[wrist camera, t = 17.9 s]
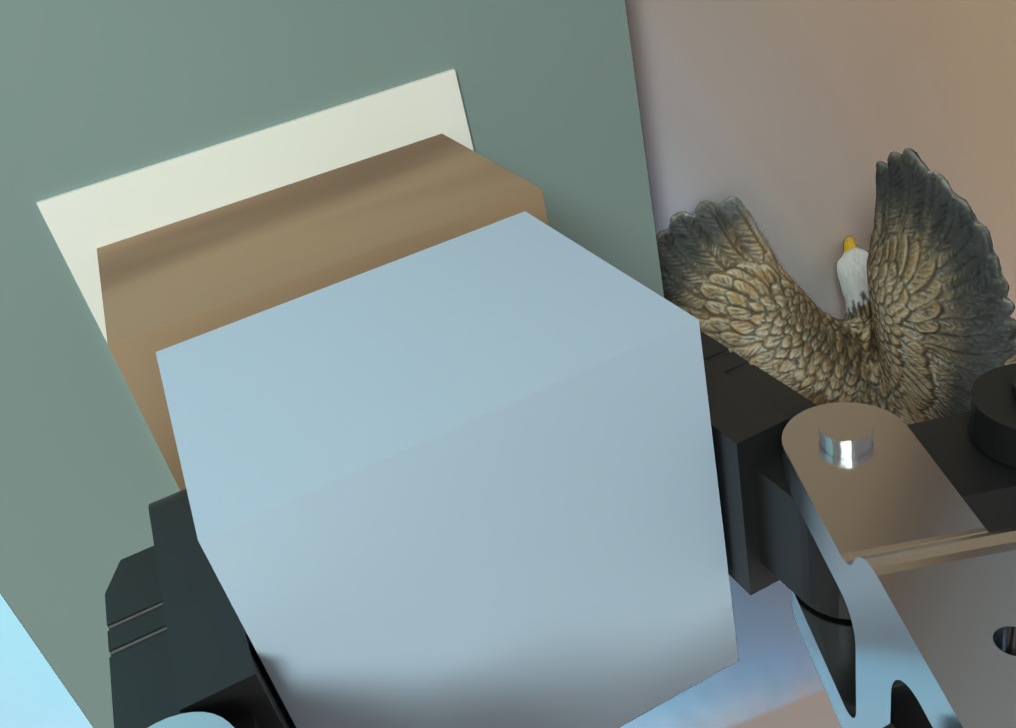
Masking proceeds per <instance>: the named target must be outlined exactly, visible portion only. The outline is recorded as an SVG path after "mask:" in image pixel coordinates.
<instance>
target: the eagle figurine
mask: <svg viewBox="0 0 1016 728" xmlns="http://www.w3.org/2000/svg"><path fill="white" fill-rule="evenodd" d="M876 168H877V169H876V206H875V218H874V229H873V232H872V235H871V240H870V251H869V254H868V253H867V251H865V250H863V249H859V247H858V246H857V245H856V243H855V239H854V237H852V236H850V237H847V238H846V239H845V240H844V251H843V255H842V257H841V258H840V259H839V260H838V263H837V275H838V279H839V282H840V286H841V291H842V294H843V296H844V299H845V306H846V315H845V320H839V319H836V318H833V317H832V316H830V315H829V314H827V313H825V312H824V311H822V310H821V309H820V308H818V307H817V306H816V305H815V303H814V302H813V301H812V300H811V299H810V298H809V297H808V296H807V295H806V294H805V293H804V292H803V290H802V289H801V288H800V287H799V286H798V284H797V283H796V282H795V281H794V280H793V279H792V278H791V277H790V276H789V275H788V274H787V273H786V272H785V271H784V270H783V269H782V267H781V266H780V264H779V263H778V261H777V260H776V258H775V256H774V254H773V252H772V251H771V249H770V247H769V246H768V243H767V241H766V239H765V238H764V236H763V234H762V233H761V232H760V231H759V229H758V227H757V225H756V223H755V221H754V219H753V217H752V216H751V214H750V213H749V211H748V210H747V209H746V208H745V207H744V206H743V204H742V203H741V201H740V200H739V199H738V198H736V197H728V198H727V199H726V200H725V201H724V202H723V203H722V204H716V203H712V202H710V201H703V202H701V203H700V204H699V205H698V207H697V208H696V210H695V212H694V214H690V213H687V212H679V213H676V214H675V215H673V216H672V217H671V219H670V224H669V228H668V229H667V230H663V231H661V232H659V233H658V234H657V236H656V240H657V248H658V255H659V263H660V270H661V278H662V285H663V293H664V298H665V299H666V300H668V301H670V302H671V303H673V304H674V305H676V306H678V307H679V308H681V309H682V310H684V311H686V312H687V313H689V314H690V315H692V316H694V317H695V318H697V319H698V320H699V326H700V332H703V333H705V334H707V335H708V336H710V337H711V338H713V339H714V340H716V341H718V342H719V343H721V344H722V345H724V346H725V347H727V348H728V349H729V352H730V353H731V352H735V353H736V354H738V355H740V356H741V357H743V358H744V359H746V360H747V361H748V362H749V364H750V366H751V365H753V364H754V365H755V366H757V367H758V368H760V369H761V370H763V371H765V372H766V373H768V374H769V375H771V376H772V377H774V378H776V379H777V380H779V381H780V382H782V383H783V384H785V385H787V386H788V387H790V388H791V389H793V390H794V391H796V392H798V393H799V394H801V395H802V396H804V397H805V398H807V399H808V400H810V401H812V402H813V403H815V404H816V405H822V404H828V403H835V402H855V403H863V404H868V405H872V406H876V407H879V408H882V409H885V410H887V411H889V412H891V413H893V414H895V415H896V416H897V417H899V418H900V419H901V420H903V421H904V423H905V424H906V425H907V424H913V423H918V422H923V421H927V420H932V419H937V418H941V417H946V416H951V415H955V414H960V413H965V412H969V411H970V399H971V390H972V386H973V384H974V382H975V381H976V380H977V379H978V378H979V377H980V376H981V375H982V374H984V373H985V372H987V371H989V370H992V369H994V368H997V367H1000V366H1003V365H1008V364H1014V363H1016V320H1015V319H1013V318H1011V317H1010V315H1011V314H1012V312H1013V311H1014V309H1015V305H1014V303H1013V302H1012V301H1011V300H1010V299H1009V298H1008V297H1007V294H1008V291H1009V285H1008V283H1007V281H1006V279H1005V278H1004V276H1003V274H1002V271H1001V266H1000V261H999V258H998V256H997V254H996V253H995V252H994V250H993V244H992V240H991V236H990V232H989V230H988V228H987V227H986V226H984V225H983V224H981V223H980V222H979V221H978V220H977V218H976V216H975V214H974V213H973V211H972V209H971V207H970V206H969V204H968V202H967V201H966V200H965V199H963V198H961V197H960V196H958V195H957V194H956V193H954V192H953V191H952V189H951V187H950V185H949V183H948V181H947V180H946V179H945V177H943V176H942V175H941V174H939V173H938V172H933V173H932V172H931V171H930V170H929V169H928V167H927V166H926V165H925V163H924V162H923V161H922V160H921V159H920V157H919V155H918V154H917V152H915V151H914V150H913V149H910V148H906V149H905V150H904V151H903V155H902V154H900V153H898V152H891V153H890V154H889V157H888V164H887V163H885V162H882V161H878V162H877V163H876Z"/></svg>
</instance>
